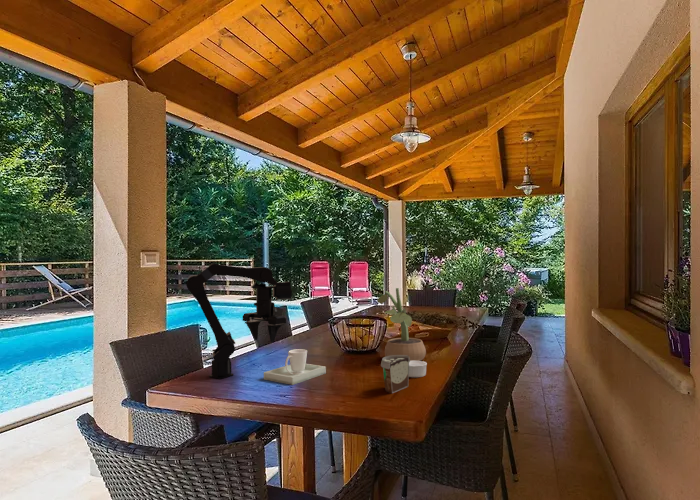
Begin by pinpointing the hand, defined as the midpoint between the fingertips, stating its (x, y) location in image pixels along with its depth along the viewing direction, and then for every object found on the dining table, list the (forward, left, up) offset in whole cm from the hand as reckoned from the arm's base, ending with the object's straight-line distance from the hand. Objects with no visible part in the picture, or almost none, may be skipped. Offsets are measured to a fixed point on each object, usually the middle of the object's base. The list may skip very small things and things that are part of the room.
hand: (264, 341), depth 181 cm
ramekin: (+25, -51, -12) cm, 58 cm away
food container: (+6, -53, -12) cm, 54 cm away
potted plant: (+42, -36, -12) cm, 57 cm away
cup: (+1, -14, -11) cm, 18 cm away
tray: (+1, -15, -12) cm, 19 cm away
